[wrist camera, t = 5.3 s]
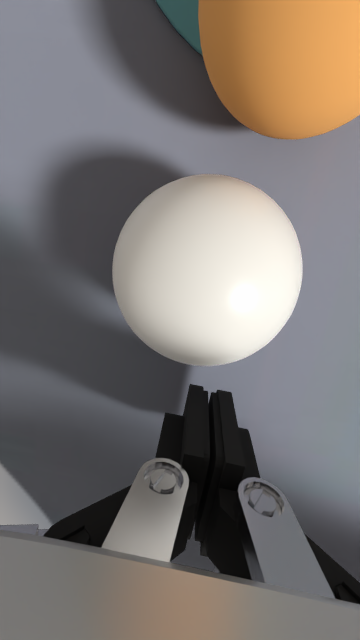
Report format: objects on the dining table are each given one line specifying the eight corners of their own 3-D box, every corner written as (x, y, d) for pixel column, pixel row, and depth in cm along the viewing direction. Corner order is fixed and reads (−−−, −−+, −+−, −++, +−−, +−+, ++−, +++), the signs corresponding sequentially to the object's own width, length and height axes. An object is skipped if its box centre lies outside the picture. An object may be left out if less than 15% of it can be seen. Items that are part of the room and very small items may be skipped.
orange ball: (390, 143, 9) (675, -195, 4) (248, 210, 8) (374, -107, 3) (294, 38, 11) (415, -323, 5) (162, 87, 10) (150, -286, 4)
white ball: (383, 314, 5) (329, 245, 10) (153, 102, 5) (209, 134, 9) (198, 438, 8) (223, 338, 13) (39, 313, 8) (126, 257, 12)
